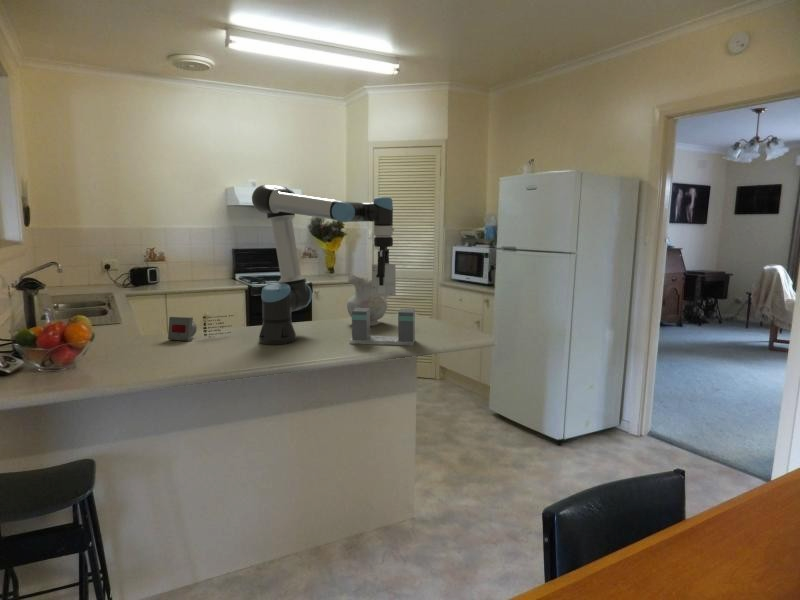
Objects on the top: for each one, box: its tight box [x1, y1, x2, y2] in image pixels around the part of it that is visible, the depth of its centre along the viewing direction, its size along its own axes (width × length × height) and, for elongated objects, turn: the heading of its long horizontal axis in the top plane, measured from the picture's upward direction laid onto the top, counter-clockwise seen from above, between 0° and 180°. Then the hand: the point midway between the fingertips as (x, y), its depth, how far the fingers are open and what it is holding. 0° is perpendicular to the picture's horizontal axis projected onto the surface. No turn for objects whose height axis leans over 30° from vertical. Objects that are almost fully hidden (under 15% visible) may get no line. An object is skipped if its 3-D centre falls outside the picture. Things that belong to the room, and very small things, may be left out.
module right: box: [397, 308, 416, 342], centre depth 210 cm, size 6×8×12 cm
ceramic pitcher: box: [346, 274, 388, 327], centre depth 247 cm, size 22×20×25 cm
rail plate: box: [349, 335, 416, 347], centre depth 212 cm, size 26×9×2 cm, turn 83°
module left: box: [351, 308, 371, 340], centre depth 212 cm, size 6×8×12 cm
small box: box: [371, 262, 397, 298], centre depth 208 cm, size 8×6×13 cm
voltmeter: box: [167, 314, 235, 342], centre depth 219 cm, size 27×11×10 cm, turn 114°
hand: (383, 291), depth 209 cm, fingers closed on small box, 10 cm apart
